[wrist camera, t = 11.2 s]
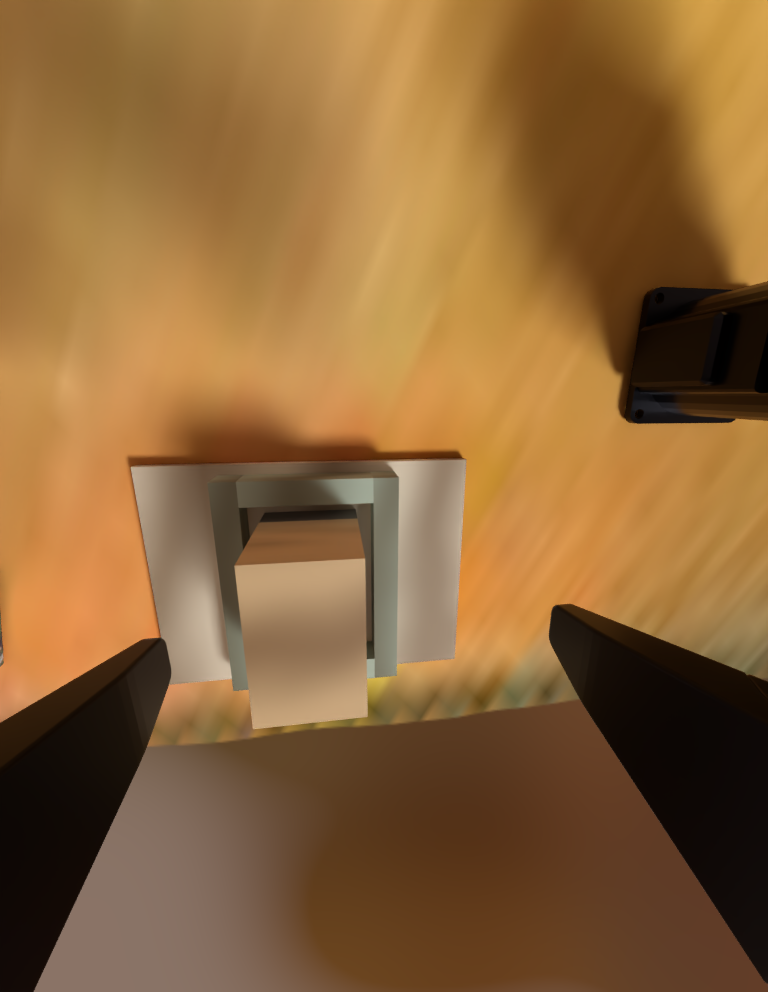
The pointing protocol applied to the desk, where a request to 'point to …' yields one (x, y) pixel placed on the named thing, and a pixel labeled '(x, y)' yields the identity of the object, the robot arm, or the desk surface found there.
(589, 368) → the desk surface
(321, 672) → the plug block
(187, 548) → the socket plate
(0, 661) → the syrup box
